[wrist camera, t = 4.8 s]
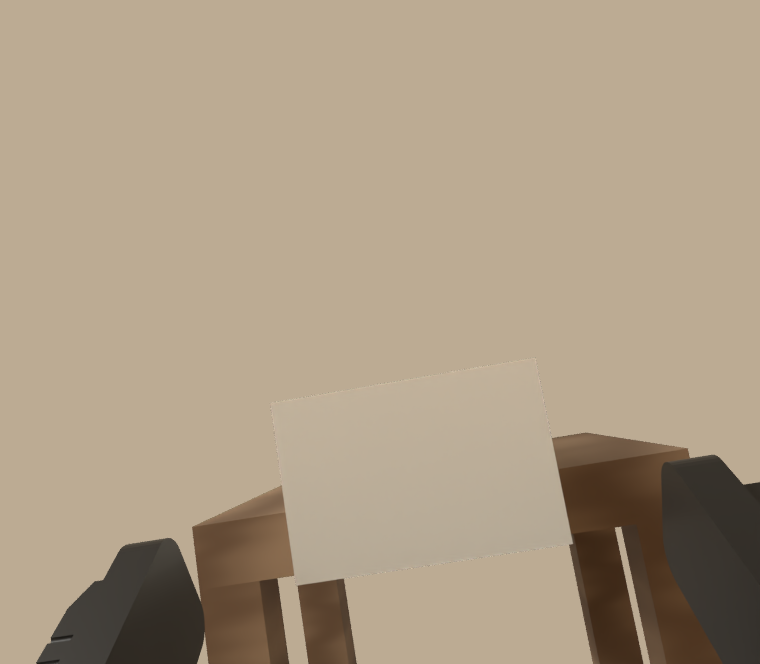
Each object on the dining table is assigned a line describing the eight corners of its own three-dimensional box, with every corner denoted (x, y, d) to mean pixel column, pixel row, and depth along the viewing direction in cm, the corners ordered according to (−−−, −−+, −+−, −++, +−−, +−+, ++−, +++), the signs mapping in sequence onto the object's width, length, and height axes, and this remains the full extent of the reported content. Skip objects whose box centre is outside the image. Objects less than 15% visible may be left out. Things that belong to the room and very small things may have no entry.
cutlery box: (295, 585, 10) (269, 402, 11) (398, 460, 36) (389, 408, 36) (573, 544, 10) (534, 357, 10) (476, 448, 36) (466, 395, 36)
